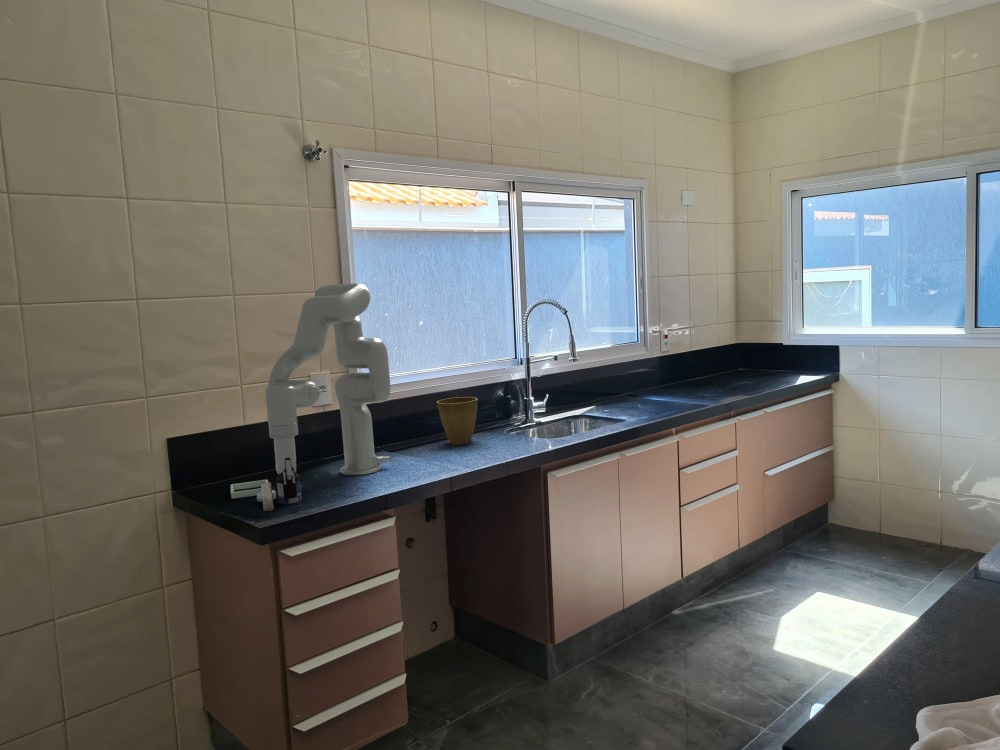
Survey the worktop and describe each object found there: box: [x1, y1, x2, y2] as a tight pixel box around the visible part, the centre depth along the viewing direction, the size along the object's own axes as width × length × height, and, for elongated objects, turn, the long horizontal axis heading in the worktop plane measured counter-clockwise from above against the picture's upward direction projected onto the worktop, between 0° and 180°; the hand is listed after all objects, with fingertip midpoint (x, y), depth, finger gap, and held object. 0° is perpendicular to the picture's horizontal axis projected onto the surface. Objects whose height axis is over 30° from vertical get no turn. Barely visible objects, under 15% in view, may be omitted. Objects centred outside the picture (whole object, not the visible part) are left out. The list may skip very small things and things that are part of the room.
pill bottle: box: [276, 468, 303, 505], centre depth 204 cm, size 6×6×11 cm
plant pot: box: [436, 396, 478, 446], centre depth 273 cm, size 15×15×16 cm
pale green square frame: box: [230, 479, 269, 500], centre depth 217 cm, size 10×10×3 cm
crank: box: [256, 481, 277, 512], centre depth 203 cm, size 15×5×7 cm, turn 20°
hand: (289, 494), depth 205 cm, fingers closed on pill bottle, 6 cm apart
